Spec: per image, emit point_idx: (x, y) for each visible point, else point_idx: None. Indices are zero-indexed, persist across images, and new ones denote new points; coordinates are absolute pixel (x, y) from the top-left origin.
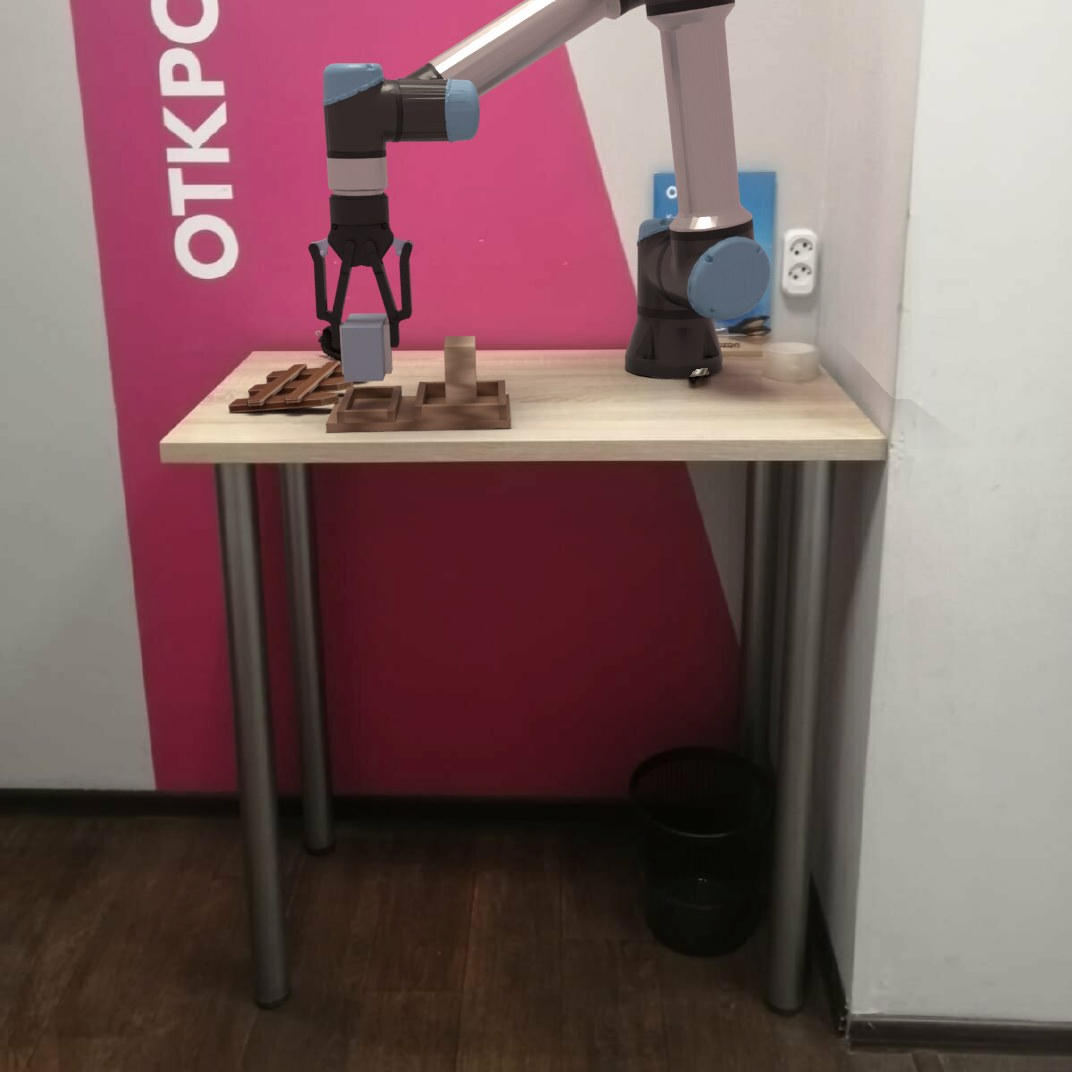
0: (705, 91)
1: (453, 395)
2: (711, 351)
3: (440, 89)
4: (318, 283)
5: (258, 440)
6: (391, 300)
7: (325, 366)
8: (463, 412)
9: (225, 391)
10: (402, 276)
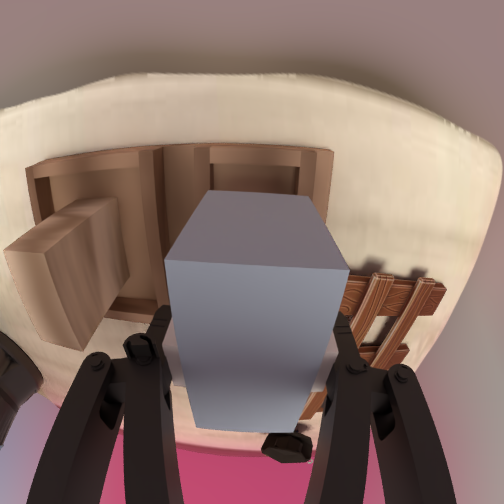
0: None
1: (89, 207)
2: None
3: None
4: (436, 470)
5: (427, 130)
6: (126, 416)
7: (315, 407)
8: (79, 156)
9: (418, 362)
10: (58, 479)
